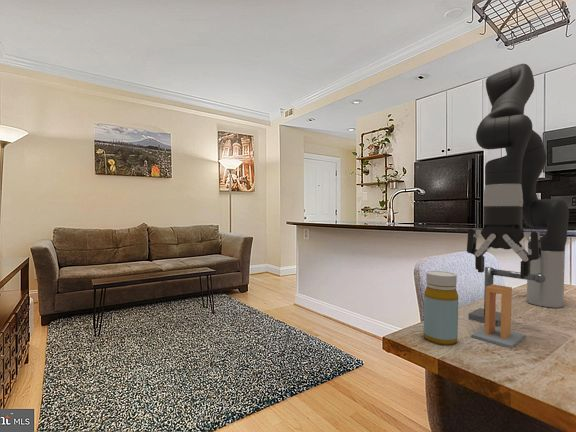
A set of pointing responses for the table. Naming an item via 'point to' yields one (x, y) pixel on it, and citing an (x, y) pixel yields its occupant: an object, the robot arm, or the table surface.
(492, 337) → the mat
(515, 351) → the table surface
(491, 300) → the link
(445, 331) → the bottle
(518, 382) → the table surface
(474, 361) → the table surface
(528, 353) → the table surface
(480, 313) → the stand
